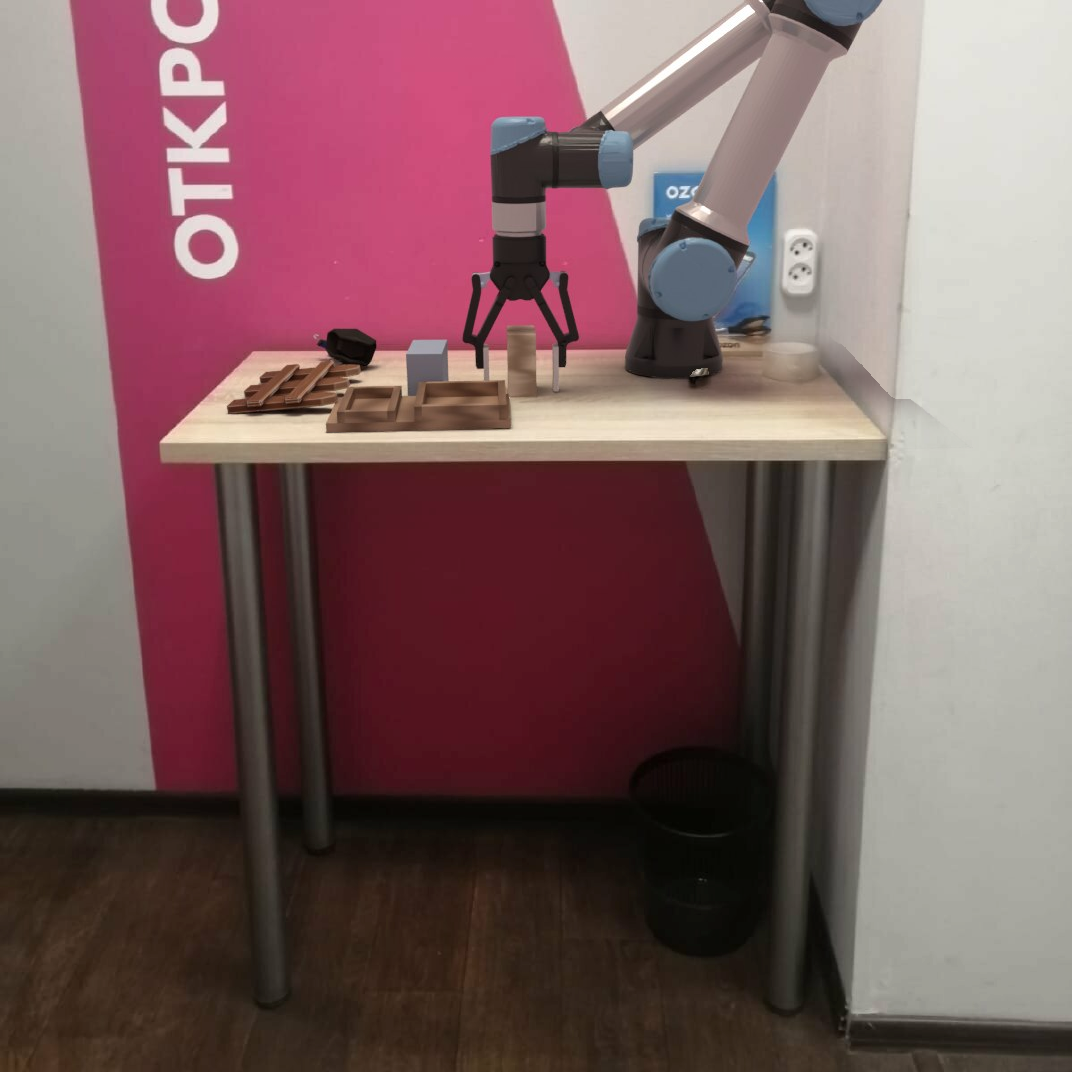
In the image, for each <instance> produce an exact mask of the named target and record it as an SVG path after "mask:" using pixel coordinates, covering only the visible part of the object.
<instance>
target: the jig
mask: <svg viewBox="0 0 1072 1072" xmlns="http://www.w3.org/2000/svg"><path fill="white" fill-rule="evenodd" d="M402 387H403V386H402V385H373V386H371V385H367V386H366V385H365V386H364V385H363V386H349V387H347V388H346V389H345V392H344V394H343V396H342V397H340V396H339V397H338V396H337V398H338V401H337V402H336V403H334V404H333V407H332V409H331V410H330V411H331V412H330V414H329V416H328V417H327V419H326V420H327V421H326V422H325V430H326V433H353V432H354V433H359V432H360V433H361V432H365V433H366V432H398V431H399V432H401V431H402V432H404V431H406V432H408V431H409V432H411V431H413V432H414V431H415V432H417V431H449V430H450V431H454V430H455V431H457V430H458V429H460V430H461V429H465V430H493V429H492V428H511V429H512V427H511V426H512V421H511V419H512V418H511V405H510V398H509V394H508V393H507V390H506V380H505V379H504V380H503V379H499V380H498V379H496V380H495V379H494V380H493V379H489V380H487V381H484V380H449V381H436V382H419V385H418V390H417V395H416V396H408V395H403V389H402ZM460 430H458V431H460Z"/></svg>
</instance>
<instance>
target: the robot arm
mask: <svg viewBox="0 0 1072 1072" xmlns="http://www.w3.org/2000/svg"><path fill="white" fill-rule="evenodd" d="M882 2H883V0H744V1H742V3H741V4H739V5H738V6H737V7H735V8H734V9H732V10H731V11H730V12H728V13H727V14H726V15H724V16H723V17H722V18H721V19H719V20H718V21H717V22H715V23H714V24H713V25H711V26H710V27H708V28H707V29H706V30H705V31H703V32H701V34H699V35H698V36H697V37H695V38H693V40H691V41H690V42H688V43H687V44H686V45H685V46H683V47H682V48H681V49H679V50H678V51H677V52H675V53H674V54H673V55H671V56H670V57H669V58H667V59H666V60H665V61H663V62H662V63H661V64H660V65H658V66H657V67H656V68H654V69H653V70H652V71H650V72H649V73H647V74H646V75H645V76H644V77H642V78H641V79H640V80H639V81H637V82H635V83H634V84H633V85H632V86H630V87H629V88H628V89H626V90H625V91H624V92H621V94H619V96H617V97H616V98H614V99H613V100H612V101H610V102H609V103H607V104H606V105H605V106H603V107H602V108H601V109H600V110H599V111H598V112H596V113H595V114H593V115H591V117H588V119H586V121H583V123H580V125H579V126H578V125H577V126H574V127H572V129H570V130H569V131H559V132H558V131H552V130H551V131H550V130H548V128H547V127H546V121H545V119H544V117H542V116H501V117H498V118H496V119H494V121H493V122H492V124H491V126H490V128H491V129H490V130H491V131H490V174H491V175H490V177H491V178H490V180H491V184H490V185H491V225H492V226H491V229H492V230H493V231H494V232H496V233H495V234H494V235H493V236H492V267H491V269H490V271H487V272H478V271H474V272H473V273H472V274H471V285H472V286H471V287H472V293H471V297H470V302H469V305H468V310H467V315H466V318H465V323H464V328H463V332H462V342H463V343H465V344H469V345H471V346H473V347H474V349H475V350H474V352H475V353H474V354H475V368H476V369H477V370H483V381H487V380H490V355H489V353H490V351H489V349H490V348H489V344H488V343H487V344H486V341H487V338H488V336H489V335H490V333H491V330H492V329H493V327H494V324H495V322H496V320H497V319H498V316H499V315H500V313H501V311H502V309H503V307H504V306H505V303H506V302H507V300H508V301H509V302H510V301H511V302H512V301H513V302H514V301H518V300H523V301H526V302H527V301H532V300H534V302H535V303H536V305H537V306H538V308H539V311H540V312H541V314H542V316H543V318H544V319H545V321H546V323H547V325H548V327H549V328H550V331H551V332H552V334H553V336H554V337H555V340H556V341H557V342H553V343H552V344H551V345H552V390H553V392H560V391H559V389H560V388H559V387H560V384H559V382H560V380H559V379H560V373H559V372H560V371H559V370H560V369H559V368H566V365H567V346H568V345H569V344H572V343H573V342H577V341H579V339H580V335H579V330H578V327H577V323H576V320H575V315H574V312H573V311H574V310H573V307H572V304H571V299H570V296H569V291H568V287H569V286H568V285H569V275H568V274H569V273H568V272H567V271H565V270H561V271H554V270H553V271H550V269H549V268H548V266H547V265H548V264H547V236H546V235H545V234H544V233H543V231H545V230H546V229H547V201H546V200H547V199H546V198H547V197H546V193H547V189H604V190H610V189H613V188H616V189H618V188H627V187H628V186H630V184H631V183H632V181H633V180H632V179H633V173H634V172H633V171H634V151H635V150H636V149H638V148H639V147H640V146H641V145H643V144H644V143H645V142H647V141H648V140H650V139H651V138H652V137H654V136H655V135H657V134H658V133H659V132H661V131H662V130H663V129H665V128H666V127H668V126H669V125H670V124H671V123H673V122H675V121H676V120H677V119H678V118H680V117H681V116H683V115H684V114H685V113H687V112H688V111H689V110H691V109H692V108H693V107H695V106H696V105H697V104H699V103H700V102H702V101H703V100H704V99H705V98H707V97H708V96H709V95H712V94H713V93H714V92H715V91H716V90H718V89H719V88H721V87H722V86H723V85H725V84H726V83H727V82H729V81H730V80H732V79H733V78H734V77H735V76H737V75H738V74H740V73H741V72H742V71H744V70H745V69H746V68H748V67H749V66H750V65H752V64H754V63H755V62H756V61H757V60H759V61H758V62H757V65H756V66H755V69H754V71H753V72H752V75H751V77H750V80H749V81H748V83H747V85H746V88H745V89H744V91H743V94H742V95H741V98H740V100H739V102H738V104H737V106H736V109H735V110H734V112H733V114H732V115H731V117H730V118H731V119H730V120H729V122H728V123H727V127H726V128H725V130H724V132H723V134H722V137H721V139H720V140H719V143H718V145H717V147H716V150H714V153H713V155H712V158H711V159H710V161H709V163H708V166H707V168H706V169H705V172H704V174H703V176H702V178H701V181H700V182H699V185H698V186H697V187H696V188H697V189H696V191H695V192H694V194H693V196H692V199H690V200H689V201H688V202H686V203H683V204H681V205H679V206H676V207H675V209H674V211H673V212H672V215H671V216H669V217H668V216H667V217H663V216H662V217H648V218H647V217H646V218H644V219H642V220H641V221H640V223H639V225H638V234H637V236H636V241H637V242H636V243H638V244H637V245H638V246H637V294H636V295H637V297H636V299H637V300H636V302H637V304H636V305H637V307H636V308H637V309H636V321H635V324H634V327H633V329H632V332H631V335H630V338H629V341H628V344H627V347H626V350H625V355H624V356H625V357H624V367H625V370H626V371H628V372H630V373H633V374H636V375H638V376H644V377H652V378H660V379H661V378H662V379H663V378H664V379H689V377H690V375H691V374H692V372H693V371H695V370H696V369H701V368H708V371H709V375H708V376H711V375H714V374H717V373H720V372H721V371H722V370H723V362H724V361H723V357H724V356H723V352H722V348H721V343H720V341H719V340H720V339H719V338H718V334H717V330H716V326H715V322H714V318H713V317H714V316H715V315H717V314H718V313H720V312H721V311H722V310H723V309H724V308H725V307H727V305H728V304H729V302H730V301H731V299H732V297H733V295H734V294H735V290H736V286H737V278H738V273H737V271H738V269H739V267H740V266H741V264H742V262H743V260H744V259H745V256H746V254H747V251H748V250H749V247H750V246H751V241H750V238H749V237H750V236H749V234H748V225H749V223H750V221H751V219H752V217H753V215H755V214H754V213H755V211H756V210H757V208H758V205H759V204H760V201H761V200H762V199H763V198H762V197H763V196H764V193H765V191H766V189H767V187H768V186H769V184H770V181H771V180H772V178H773V176H774V173H775V172H776V170H777V168H778V166H779V164H780V162H781V160H782V158H783V156H784V153H785V152H786V150H787V148H788V146H789V144H790V142H791V140H792V138H793V136H794V134H795V132H796V131H797V128H798V126H799V124H800V122H801V120H802V118H803V116H804V115H805V112H806V110H807V108H808V106H809V104H810V103H811V100H812V98H813V97H814V94H815V92H816V91H817V89H818V86H819V84H820V83H821V81H822V79H823V77H824V74H825V72H826V70H827V69H828V66H829V64H830V63H831V62H832V61H834V60H835V59H838V58H840V57H844V56H846V55H847V54H848V52H849V51H850V48H851V46H852V44H853V42H854V40H855V39H856V37H857V34H858V33H859V31H860V29H861V26H862V25H863V22H864V21H866V20H867V19H869V18H870V17H871V16H872V15H873V14H874V13H875V12H876V10H877V9H878V8H879V6H880V5H881V4H882ZM549 280H551V282H552V284H553V287H555V288H557V289H558V294H559V298H560V303H561V306H562V309H563V314H564V317H565V321H566V326H567V330H568V332H565V333H564V332H563V330H562V328H561V326H560V325H559V323H558V321H557V318H556V317H555V315H554V313H553V312H552V310H551V308H550V306H549V304H548V302H547V300H546V299H545V296H544V294H543V292H541V291H542V289H543V288H544V287H545V286H546V284H547V282H548V281H549ZM489 281H491V283H493V285H494V286H495V288H497V291H498V293H497V295H496V296H495V299H494V301H493V303H492V304H491V307H490V308H489V311H488V313H487V315H486V317H485V319H484V321H483V323H482V325H481V326H480V329H479V330H478V333H477V335H476V334H473V331H474V328H475V323H476V322H475V321H476V319H477V313H478V310H479V306H480V305H479V304H480V301H481V295H482V289H483V290H484V289H485V288H487V284H488V282H489Z"/></svg>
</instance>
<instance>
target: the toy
mask: <svg viewBox="0 0 1072 1072" xmlns="http://www.w3.org/2000/svg"><path fill="white" fill-rule="evenodd" d="M318 337H319V334H316V333H315V334H314V335H313V338H314V339H315V340H316V341H318V342H317V343H316V346H318V347H321V348H324V349H325V351H326V352H327V355H328V356H329V357H330V358H332V359H334V360H335V361H337V362H339V363H341V365H360V367H368V366H369V365H370V364H371V362H372V361H373V358H374V355H375V352H376V350H377V340H376V339H375V338H374V337H372V336H369V335H368V334H366V332H365V333H364V332H363V331H361V330H360V329H358V328H333V329H331V330H329V331H328V332H327V333H326V339H322V338H320V339H319V338H318Z"/></svg>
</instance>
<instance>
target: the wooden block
mask: <svg viewBox="0 0 1072 1072" xmlns="http://www.w3.org/2000/svg"><path fill="white" fill-rule="evenodd" d="M506 347H507V348H506V354H507V355H506V357H507V358H506V359H507V360H506V362H507V388H508V389H507V390H508V393H507V394H509V397H510V398H536V397H537V334H536V328H535V325H531V324H529V325H506Z"/></svg>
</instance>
